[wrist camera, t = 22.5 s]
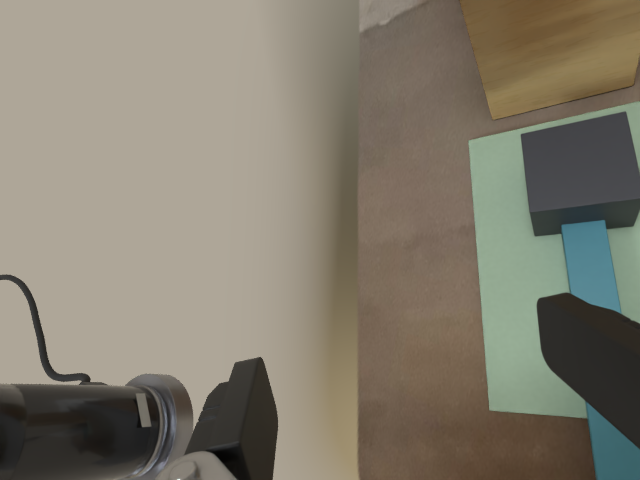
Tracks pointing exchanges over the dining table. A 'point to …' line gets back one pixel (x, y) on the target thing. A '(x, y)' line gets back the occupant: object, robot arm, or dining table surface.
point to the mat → (532, 272)
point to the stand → (551, 50)
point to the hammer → (588, 232)
